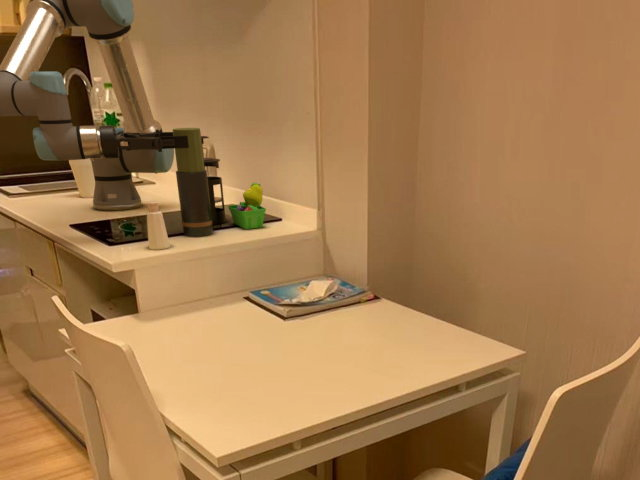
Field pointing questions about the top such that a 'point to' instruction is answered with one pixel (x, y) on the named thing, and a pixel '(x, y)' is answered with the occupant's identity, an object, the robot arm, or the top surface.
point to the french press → (216, 213)
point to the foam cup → (83, 176)
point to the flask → (195, 203)
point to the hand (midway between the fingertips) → (186, 139)
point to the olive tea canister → (189, 151)
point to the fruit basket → (249, 209)
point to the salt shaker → (156, 227)
